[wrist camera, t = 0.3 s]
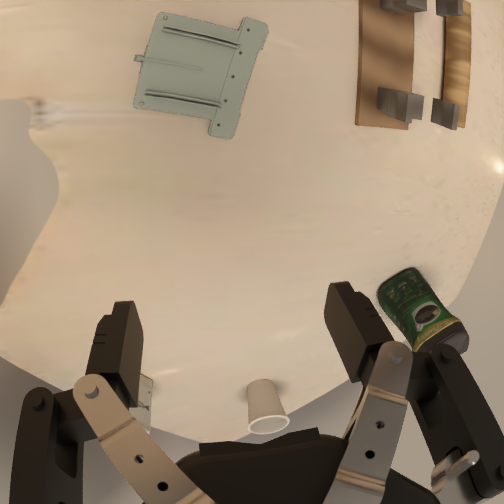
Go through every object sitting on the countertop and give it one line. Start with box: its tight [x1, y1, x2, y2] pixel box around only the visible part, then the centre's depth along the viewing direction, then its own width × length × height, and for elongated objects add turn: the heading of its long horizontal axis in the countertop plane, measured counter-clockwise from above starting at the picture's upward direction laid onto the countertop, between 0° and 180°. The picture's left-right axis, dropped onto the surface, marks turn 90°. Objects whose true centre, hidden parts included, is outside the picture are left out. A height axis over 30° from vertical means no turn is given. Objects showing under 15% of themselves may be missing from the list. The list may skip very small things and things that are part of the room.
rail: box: [442, 0, 471, 128], centre depth 32 cm, size 20×4×4 cm, turn 0°
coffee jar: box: [378, 269, 469, 354], centre depth 47 cm, size 10×8×19 cm
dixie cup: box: [248, 380, 289, 434], centre depth 61 cm, size 8×8×10 cm
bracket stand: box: [355, 0, 463, 130], centre depth 28 cm, size 22×8×11 cm, turn 0°
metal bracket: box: [133, 12, 268, 139], centre depth 31 cm, size 14×6×15 cm
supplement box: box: [129, 374, 153, 434], centre depth 52 cm, size 7×7×13 cm
